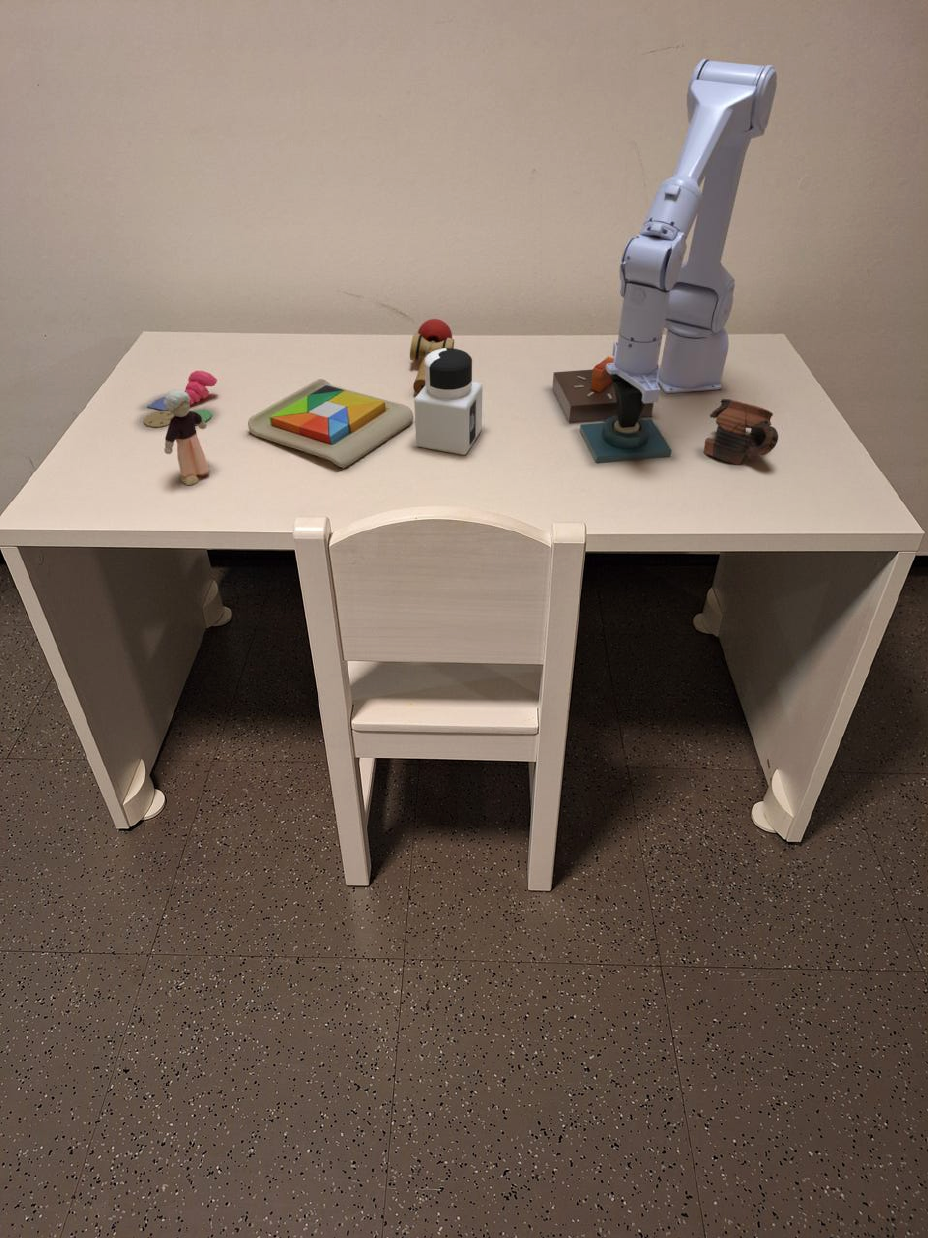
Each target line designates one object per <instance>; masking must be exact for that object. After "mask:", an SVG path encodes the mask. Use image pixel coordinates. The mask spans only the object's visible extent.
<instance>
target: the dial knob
mask: <svg viewBox="0 0 928 1238" xmlns="http://www.w3.org/2000/svg"><path fill="white" fill-rule="evenodd" d="M613 362H614V357H611V356H607V357H606V358H605V359H603V360H602V361H601V362H598V363H597V364H596V365H595V366H594V367H593V368H592V369H593V374H592V382H591V390H594V391H597V392H601V391H602V390H603V389H604V388H606V387H607V386H608V385H610V384H611V383H612V381H611V379H610V375H611V374H609V373H608V372H607V370H606V364H608V363H613Z"/></svg>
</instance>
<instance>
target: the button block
mask: <svg viewBox="0 0 928 1238" xmlns="http://www.w3.org/2000/svg"><path fill="white" fill-rule="evenodd" d="M617 420H618V415H615V416H612V417H610V418H608V419H606V420H604V422H595V423H582V424H580V425H579V433H580V435H581V437H582V439H583V440H584V442H585V444H586V446H587V449H588V451H589V453H590V455H591V456H592V458H593V461H594V463H595V464H602V463H603V464H604V463H614V462H627V461H637V460H638V461H639V460H650V459H659V458H660V459H663V458H670V457H671V455H672V449H671V447H670V445H669V443H668V442H667V441H666V439H665V438H664V436H663V435H662V433H661V431H660V430H659V428H658V426H657V425H656V424H655V422H654V420H653V419H652V418H644V419H643V418H642V417H639V419H638V421H637V423H638V424H639V431H638V432H636V433H630V434H626V433H621V432H618V431H616V430H614V423H615V422H616V421H617Z"/></svg>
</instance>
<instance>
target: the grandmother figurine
mask: <svg viewBox="0 0 928 1238" xmlns="http://www.w3.org/2000/svg"><path fill="white" fill-rule="evenodd" d="M184 391H185V390H181V389H171V390H170V391H168V393H167V394H165V396H164V397H165V399H164V404H165V405H166V408H167V409H168V410H167V411H171V413H172V414H173V415H175V416H174V417H173V418H172V419H170V420H171V421H170V420H169V421H170V424H168V426H167V430H166V435H165V438H164V439H165V443H164V446H165V447H164V449H163V451H164V453H165V454H166V455H171V454H172V453H173V447H174V444H175V442H176V451H177V455H176V457H177V462H178V466H179V470H180V471H179V472H180V474H181V475H180V481H181V482H182V483H184V484H185V485H187V486H192V485H195V484H197V483H199V479H200V478H199V477H204V476H207V475H208V474H210V472H211V469H210V467H209V464H208V463H209V462H208V460H207V458H206V456H205V455H206V454H205V452H204V450H203V447H202V445H201V442H200V439H199V437H198V433H197V429H196V426H198V428H199V429H201V430H205V429H207V423H206V422H204V421H203V419H202V417H201V415H199V414H198V413H196V412H194V411H195V410H191V407H190V406H191V405H189V401H190V396H189V395H188V394H187V393H186V392H184ZM196 424H197V425H196ZM198 476H199V477H198Z"/></svg>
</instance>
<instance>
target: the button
mask: <svg viewBox="0 0 928 1238" xmlns="http://www.w3.org/2000/svg"><path fill="white" fill-rule="evenodd" d="M614 430H616V431H618V432H621V433H626V434H630V433H636V432H638V431H639V424H638V423H636V425H635V427H627V428H621V426H620V425H619V422H618V420H617V421H616V422H615V423H614Z"/></svg>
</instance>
